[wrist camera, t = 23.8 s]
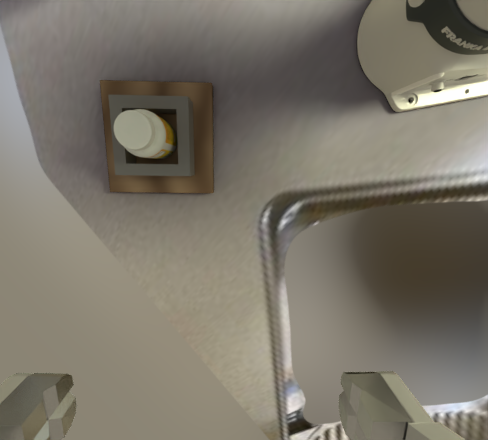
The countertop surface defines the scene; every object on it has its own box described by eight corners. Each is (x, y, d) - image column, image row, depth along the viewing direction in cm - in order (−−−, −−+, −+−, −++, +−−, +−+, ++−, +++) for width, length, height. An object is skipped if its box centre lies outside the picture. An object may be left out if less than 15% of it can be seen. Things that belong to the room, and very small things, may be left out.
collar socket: (212, 86, 36) (208, 73, 32) (213, 192, 40) (210, 196, 35) (105, 83, 36) (84, 70, 31) (114, 190, 39) (97, 194, 34)
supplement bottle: (167, 166, 37) (143, 166, 28) (133, 146, 36) (97, 139, 27) (185, 132, 36) (166, 121, 27) (151, 111, 36) (119, 92, 26)
